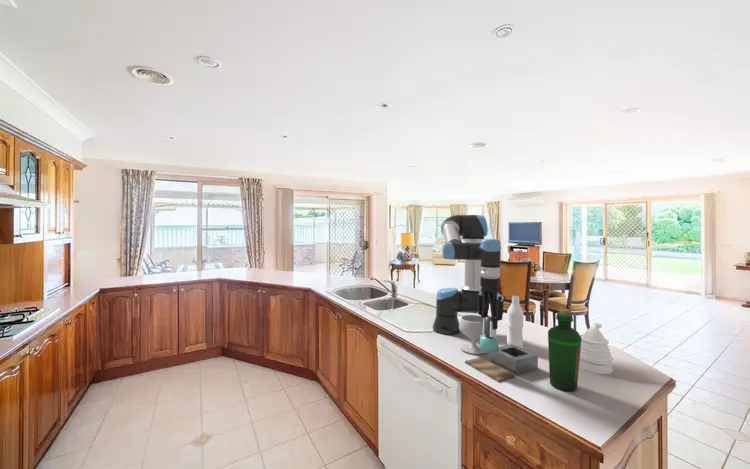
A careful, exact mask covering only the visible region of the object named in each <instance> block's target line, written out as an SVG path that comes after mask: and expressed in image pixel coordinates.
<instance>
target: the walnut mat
mask: <svg viewBox="0 0 750 469" xmlns="http://www.w3.org/2000/svg"><path fill="white" fill-rule="evenodd" d="M464 363H465V364H466V365H468V366H470V367H472V368H473V369H475V370H476V371H478V372H480V373H482V374H484V375H485V376H487V377H488V378H490V379H492V380H494V382H495V381H496V382H497V383H499V382H503V381H506V380H509V379H513V378H516V376H515V375H514V374H512V373H510V372H508V371H506V370H504V369H502V368H500V367H499V366H497V365H495V364H493V363H491V361H489V360H487V359H485V358H483V357H481V356H480V357H476V358H471V359H468V360H467V359H466V360H464Z"/></svg>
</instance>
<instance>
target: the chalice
mask: <svg viewBox="0 0 750 469" xmlns="http://www.w3.org/2000/svg"><path fill="white" fill-rule="evenodd" d="M459 329H460V333H461V334H463V335H464V336H465V337H467V338H468V339H470V340H471V343H466V344H463V345H461V346H460V349H461V350H462V351H463V352H465V353H467V354H471V355H485V354H487V353H488V352H484V351H482V350H481V349H480V344H477V341H478V340H480V335H483V325H482V317H481V315H478V314H477V315H476V314H466V315H463V316H461V317H460V319H459Z"/></svg>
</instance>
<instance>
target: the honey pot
mask: <svg viewBox="0 0 750 469" xmlns="http://www.w3.org/2000/svg"><path fill="white" fill-rule="evenodd" d="M602 327H603V324H602V323H599V322H594V325H593V326H591V327H589V328H588V329H587V330H585V332H584V333H583V334H579V335H580V336H581V339H582V340H581V350H580V361H579V369H581V370H583V371H586V372H589V373H593V374H598V375H610V374H612V373H613V370H614V369H613V367H614V364H613V362H614V361H613V360H614V359H613V358H614V357H612V353H611V350H610V348H609V346H608V344H609V343H610V342H609V340H608V339H607V338H605V336H604V335H603V333H602V332H601V331H600V329H601V328H602Z"/></svg>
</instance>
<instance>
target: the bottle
mask: <svg viewBox="0 0 750 469" xmlns="http://www.w3.org/2000/svg"><path fill="white" fill-rule="evenodd" d="M555 319H556V320H557V325H555V326H552V327H550V329H549V330H548V331H547V342H548V343H547V344H548V364H549V366H548V367H549V369H548V370H549V384H550V385H551V386H553V387H554V388H556V389H557V390H561V391H565V392H574V391H576V390H578V382H579V371H580V370H579V369H580V368H579V361H580V350H581V340H582V339H581V336H580V335H581V334H580V332H578V331H577V330H576V329H575V328H573V327H572V322H574V318H573V313H571V310H570V309H567V308H559V311H557V313H556V316H555Z"/></svg>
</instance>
